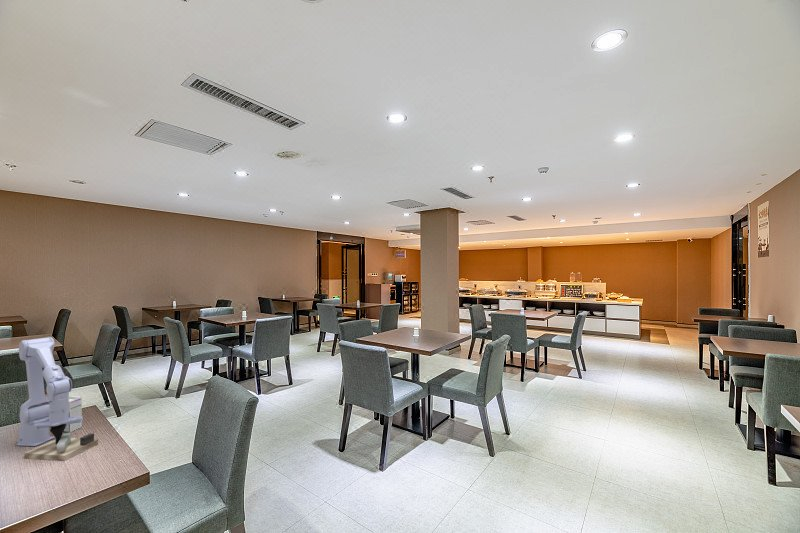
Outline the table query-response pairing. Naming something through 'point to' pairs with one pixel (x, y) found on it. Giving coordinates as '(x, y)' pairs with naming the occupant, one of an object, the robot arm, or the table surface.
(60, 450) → the stool leg
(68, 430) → the syrup box
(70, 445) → the stool seat
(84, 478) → the table surface
